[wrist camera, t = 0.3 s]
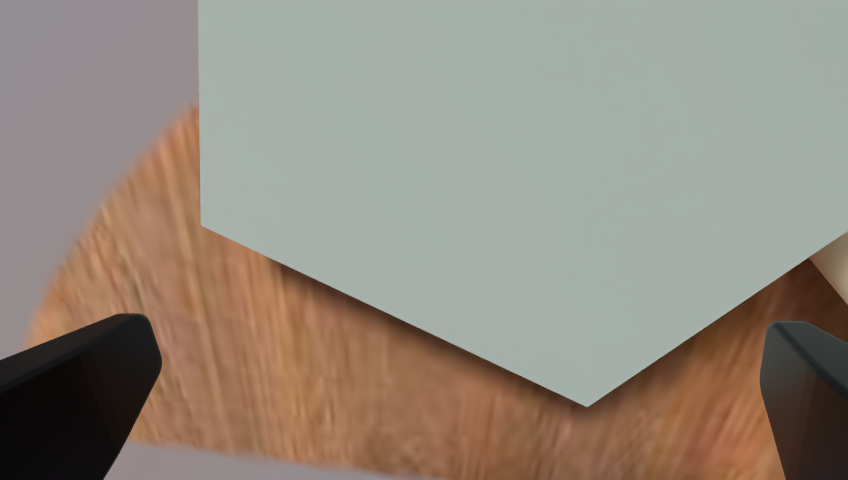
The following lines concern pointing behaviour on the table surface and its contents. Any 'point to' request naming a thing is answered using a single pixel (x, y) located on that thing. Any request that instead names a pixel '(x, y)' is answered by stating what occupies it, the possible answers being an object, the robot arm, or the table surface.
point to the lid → (530, 162)
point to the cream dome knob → (834, 264)
